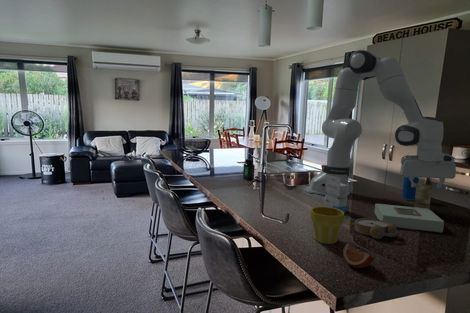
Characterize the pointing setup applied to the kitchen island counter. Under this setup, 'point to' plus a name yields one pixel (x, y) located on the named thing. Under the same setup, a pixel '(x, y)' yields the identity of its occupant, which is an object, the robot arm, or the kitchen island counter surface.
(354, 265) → the fruit slice
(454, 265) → the kitchen island counter surface
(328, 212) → the plant pot
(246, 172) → the supplement bottle
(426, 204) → the leg
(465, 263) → the kitchen island counter surface
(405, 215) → the board
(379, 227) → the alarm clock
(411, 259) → the kitchen island counter surface
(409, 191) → the beverage can
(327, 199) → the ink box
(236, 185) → the kitchen island counter surface
